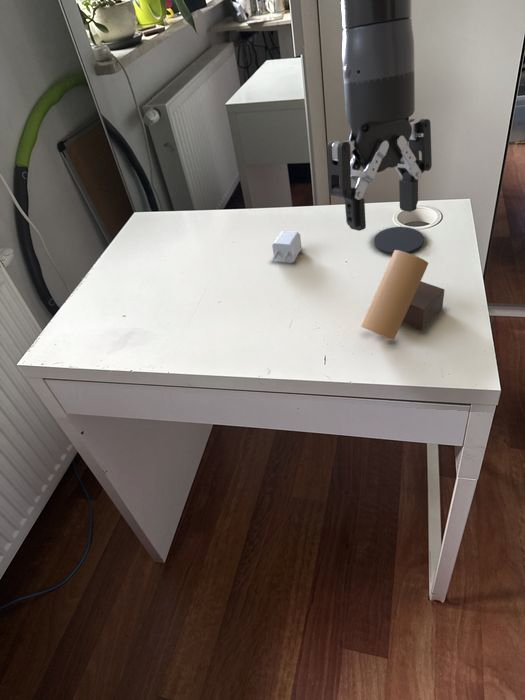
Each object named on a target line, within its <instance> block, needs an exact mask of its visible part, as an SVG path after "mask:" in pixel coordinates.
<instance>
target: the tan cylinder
mask: <svg viewBox="0 0 525 700" xmlns="http://www.w3.org/2000/svg"><path fill="white" fill-rule="evenodd" d="M428 266H429V262H428V261H427V260H425V259H423V258H421V257H419V256H417V255H415V254H413V253H410V254H409V253H406V252H403V251H399V250H394V252H393V255H391V256H390V259H389V262H388V264H387V266H386V268H385V270H384V272H383V275H382V277H381V280H380V282H379V285H378V287H377V289H376V292H375V293H374V296H373V299H372V301H371V303H370V305H369V307H368V310H367V312H366V314H365V316H364V319H363V321H362V323H361V325H360V327H361V328H363V329H365V330H368V331H371V332H373V333H374V334H377V335H379V336H382V337H385V338H387V339H390V340H392V341H395V339H396V337H397V335H398V333H399V330H400V328H401V327H402V324H403V323H402V322H403V319H404V317H405V315H406V313H407V310H408V308H409V306H410V304H411V301H412V299H413V297H414V295H415V293H416V290H417V288H418V286H419V284H420V281H422V279H423V277H424V275H425V273H426V271H427V268H428Z"/></svg>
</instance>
